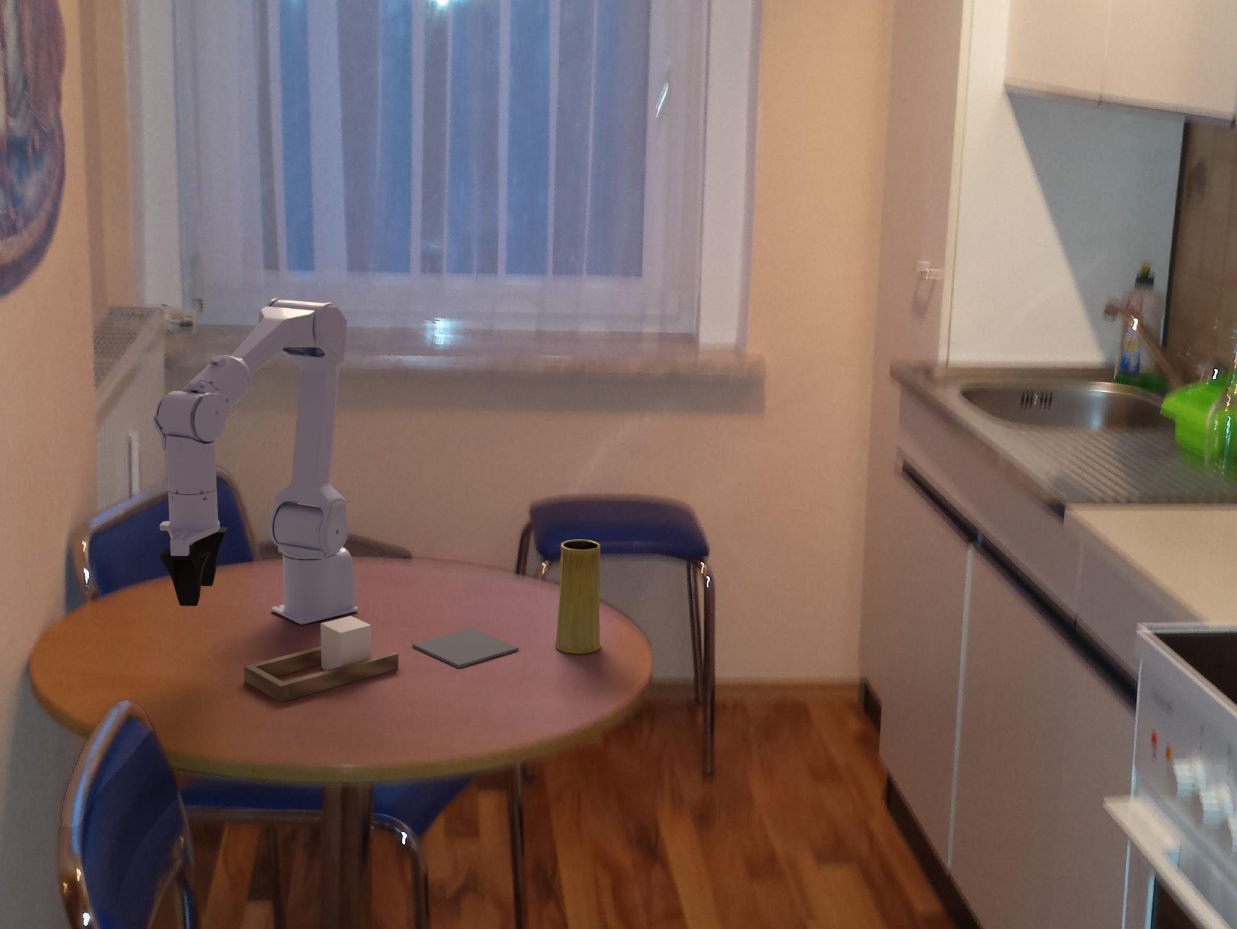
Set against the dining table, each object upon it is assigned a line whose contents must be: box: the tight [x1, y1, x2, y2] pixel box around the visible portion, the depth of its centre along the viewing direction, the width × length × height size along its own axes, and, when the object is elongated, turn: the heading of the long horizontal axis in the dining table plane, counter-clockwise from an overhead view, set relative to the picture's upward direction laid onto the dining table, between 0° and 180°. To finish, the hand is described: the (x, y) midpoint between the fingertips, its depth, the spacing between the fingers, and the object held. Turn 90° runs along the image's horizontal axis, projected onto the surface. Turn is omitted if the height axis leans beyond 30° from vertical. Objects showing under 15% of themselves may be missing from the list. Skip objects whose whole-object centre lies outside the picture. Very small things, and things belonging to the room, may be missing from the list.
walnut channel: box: [243, 645, 399, 703], centre depth 178 cm, size 17×8×2 cm, turn 134°
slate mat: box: [411, 627, 520, 669], centre depth 189 cm, size 10×10×1 cm
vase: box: [554, 538, 602, 655], centre depth 189 cm, size 6×6×14 cm
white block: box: [320, 615, 372, 671], centre depth 180 cm, size 4×4×6 cm
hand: (196, 595), depth 177 cm, fingers open, 7 cm apart
